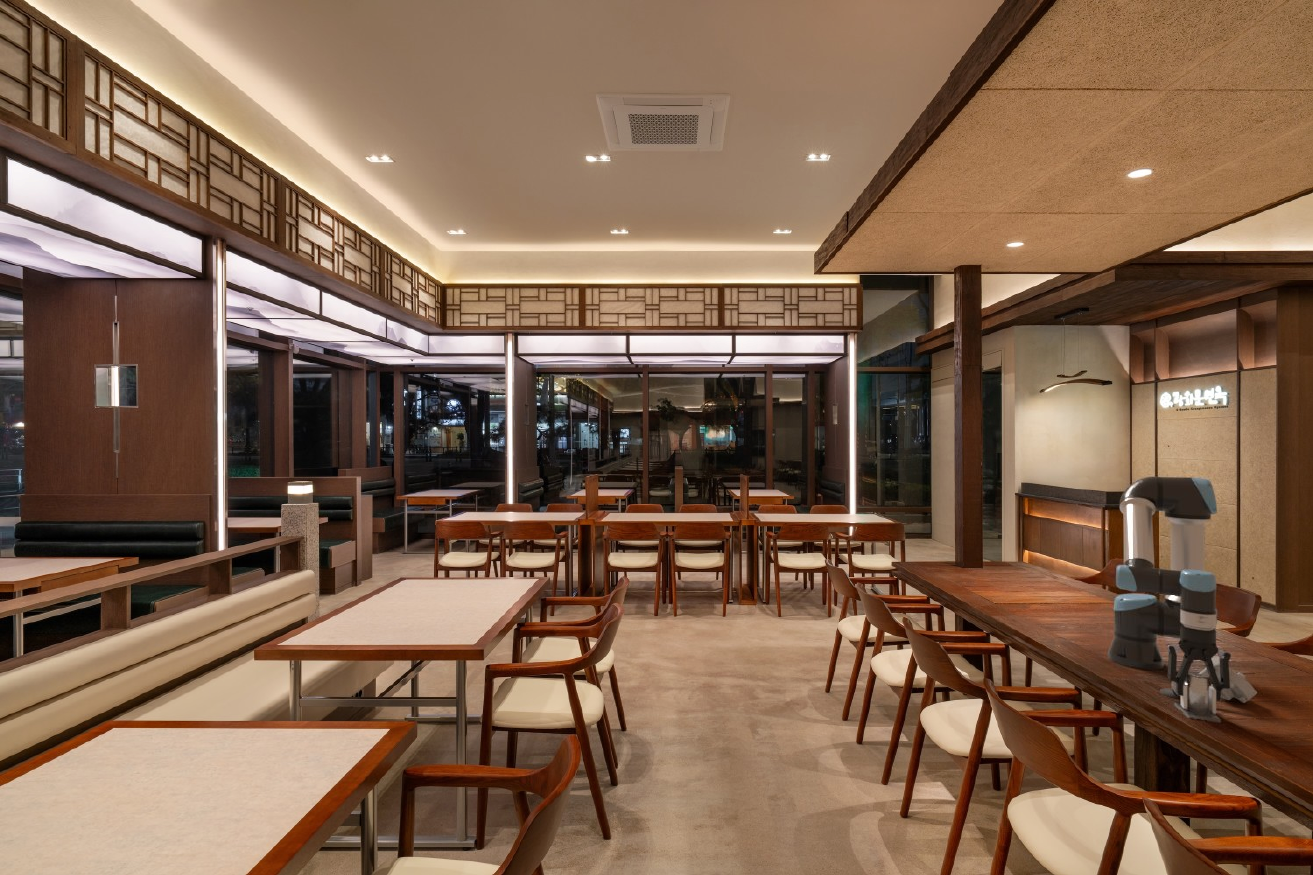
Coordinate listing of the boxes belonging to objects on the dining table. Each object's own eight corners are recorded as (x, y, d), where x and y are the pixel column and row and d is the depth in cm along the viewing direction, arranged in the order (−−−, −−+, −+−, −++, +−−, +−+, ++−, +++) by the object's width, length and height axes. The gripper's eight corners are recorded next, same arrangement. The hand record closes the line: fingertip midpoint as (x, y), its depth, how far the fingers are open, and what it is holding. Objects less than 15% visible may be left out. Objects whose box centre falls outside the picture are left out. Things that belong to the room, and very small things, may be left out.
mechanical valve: (1266, 699, 174) (1236, 659, 174) (1217, 737, 174) (1188, 698, 174) (1231, 682, 185) (1202, 645, 184) (1185, 719, 185) (1157, 682, 184)
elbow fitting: (1170, 702, 178) (1170, 664, 178) (1200, 706, 175) (1200, 668, 175) (1188, 719, 167) (1188, 679, 167) (1220, 723, 165) (1220, 682, 165)
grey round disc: (1157, 690, 187) (1157, 687, 187) (1182, 694, 184) (1182, 690, 184) (1163, 697, 182) (1163, 694, 182) (1189, 701, 179) (1189, 698, 179)
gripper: (1160, 625, 171) (1160, 708, 171) (1247, 635, 163) (1247, 721, 163) (1152, 618, 178) (1152, 697, 177) (1235, 627, 169) (1236, 710, 169)
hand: (1198, 709), depth 170 cm, fingers closed on elbow fitting, 5 cm apart
